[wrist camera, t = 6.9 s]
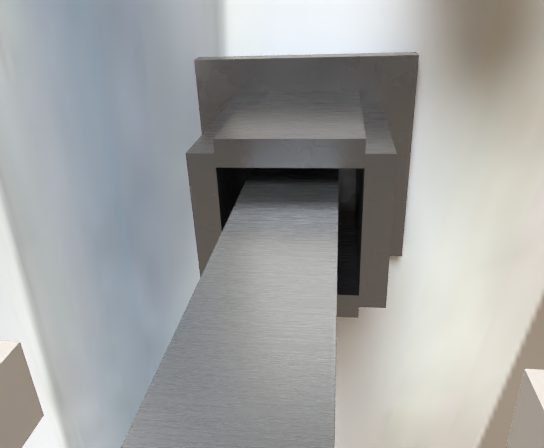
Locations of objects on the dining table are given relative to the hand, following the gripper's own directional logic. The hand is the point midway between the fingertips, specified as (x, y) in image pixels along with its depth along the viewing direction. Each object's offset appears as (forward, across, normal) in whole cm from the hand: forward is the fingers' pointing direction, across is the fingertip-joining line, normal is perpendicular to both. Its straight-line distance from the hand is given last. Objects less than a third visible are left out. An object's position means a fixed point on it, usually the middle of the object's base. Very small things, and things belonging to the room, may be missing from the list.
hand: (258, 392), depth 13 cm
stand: (+19, 0, 0) cm, 19 cm away
